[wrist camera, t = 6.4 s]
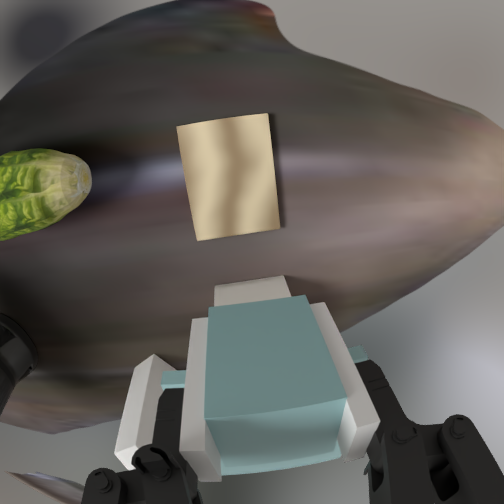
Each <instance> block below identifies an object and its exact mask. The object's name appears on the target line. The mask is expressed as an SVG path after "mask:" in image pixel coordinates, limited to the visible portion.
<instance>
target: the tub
mask: <svg viewBox="0 0 504 504" xmlns="http://www.w3.org/2000/svg"><path fill="white" fill-rule="evenodd" d="M286 297H291V294H290V291H289V289H288V286H287V283H286V281H285V278H284V275H281V276H275V277H269V278H262V279H255V280H249V281H242V282H235V283H228V284H221V285H215V293H214V306H223V305H232V304H240V303H248V302H256V301H264V300H272V299H279V298H286Z"/></svg>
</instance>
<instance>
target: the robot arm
mask: <svg viewBox="0 0 504 504" xmlns="http://www.w3.org/2000/svg"><path fill="white" fill-rule="evenodd" d="M309 305H310V307H311V309H312V312H313V314H314V316H315V319H316V321H317V324H318V326H319V328H320V331H321V333H322V335H323V338H324V340H325V343H326V345H327V348H328V350H329V352H330V355H331V357H332V360H333V362H334V365H335V367H336V370H337V372H338V375H339V377H340V380H341V382H342V385H343V387H344V390H345V392H346V395H347V399H346V403H345V407H344V412H343V416H342V420H341V424H340V428H339V432H338V436H337V441H338V445H339V448H340V451H341V454H342V457H343V461H344V463H345V462H349V461H353V460H356V459H360V458H363V457H364V456H365V454H366V452H367V454H368V456H369V459H370V461H369V463H368V464H367V466H366V468H365V470H364V475H366V474H367V473H368V479H369V497H370V504H434V503H435V504H504V475H503V473H502V471H501V470H500V468H499V466H498V464H497V462H496V461H495V459H494V457H493V455H492V454H491V452H490V450H489V449H488V447H487V445H486V444H485V442H484V441H483V439H482V437H481V435H480V434H479V432H478V430H477V429H476V427H475V426H474V424H473V423H472V421H471V420H470V419H469V418H468V417H466V416H464V415H457V414H456V415H453V416H450V417H449V418H447V419H446V420H445V422H444V423H443V424H434V425H419V424H416V423H414V422H413V421H411V420H409V419H408V418H407V417H406V415H405V414H404V412H403V410H402V408H401V406H400V404H399V402H398V400H397V398H396V396H395V394H394V393H393V391H392V389H391V387H390V386H389V383H388V381H387V379H385V376H384V374H383V372H382V370H381V368H380V367H379V366H378V365H377V364H375V363H374V362H373V361H372V360H367V361H362V362H358V363H354V362H353V360H352V358H351V355H350V353H349V351H348V349H347V347H346V345H345V343H344V341H343V339H342V337H341V335H340V333H339V331H338V329H337V326H336V324H335V322H334V320H333V318H332V316H331V314H330V312H329V310H328V308H327V306H326V304H325V302H321V303H315V304H309ZM207 329H208V317H207V318H197V319H192V325H191V334H190V342H189V350H188V359H187V368H186V378H185V388H165V390H164V391H163V393H162V394H161V396H160V397H159V400H158V406H157V412H156V421H155V425H154V432H153V439H152V444H147V445H144V446H142V447H140V448H139V449H138V450H136V451H135V453H134V455H133V456H132V461H131V464H132V465H133V466H134V467H135V468H136V469H133V470H128V471H123V472H119V473H115V472H114V471H113V470H110V469H108V468H99V469H96V470H94V471H92V472H91V473H90V474H89V476H88V478H87V480H86V484H85V488H84V493H83V497H82V502H81V504H203V501H202V497H201V494H200V492H199V490H198V488H197V479H199V480H200V482H213V481H214V482H217V481H221V456H220V453H219V451H218V449H217V447H216V444H215V442H214V440H213V437H212V435H211V433H210V430H209V428H208V425H207V423H206V420H204V398H205V370H206V348H207ZM37 362H38V354H37V351H36V348H35V346H34V344H33V342H32V341H31V339H30V338H29V336H28V335H27V334H26V333H25V331H24V330H23V329H22V328H21V327H20V326H19V325H18V324H17V323H15V322H14V321H13V320H11V319H10V318H8V317H7V316H5V315H2V314H0V416H1V414H2V412H3V409H4V407H5V405H6V403H7V401H8V399H9V397H10V395H11V393H12V391H13V389H14V387H15V386H16V384H17V383H18V382H20V381H21V380H22V379H24V378H25V377H26V376H27V375H29V374H30V373H31V372H32V371H33V370H34V368H35V366H36V364H37Z"/></svg>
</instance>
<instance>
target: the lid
mask: <svg viewBox="0 0 504 504" xmlns="http://www.w3.org/2000/svg"><path fill="white" fill-rule="evenodd" d="M347 349H348V351H349V353H350V355H351V358H352V360H353V362H354V363H358V362H362V361H367V360H368V356H367V354H366V352H365V350H364V348H363V346H362V345H360V346H355V347H351V348H347ZM185 378H186V370H179V371H163V373H162V379H161V387H162V389H163V391H164V390H165V388H185ZM346 399H347V395H346V392H345V390H344V387H343V385H342V382H341V380H340V377H339V375H338V372H337V370H336V367H335V365H334V362H333V360H332V357H331V355H330V352H329V350H328V348H327V345H326V343H325V340H324V338H323V335H322V333H321V331H320V328H319V326H318V324H317V321H316V319H315V316H314V314H313V312H312V309H311V307H310V305H309V302H308V300H307V298H306V295H300V296H293V297H286V298H279V299H272V300H264V301H256V302H248V303H240V304H232V305H223V306H214V307H209V312H208V329H207V348H206V370H205V398H204V420H206V423H207V425H208V428H209V430H210V433H211V435H212V437H213V440H214V442H215V444H216V447H217V449H218V451H219V453H220V456H221V475H234V474H247V473H256V472H266V471H273V470H281V469H287V468H293V467H299V466H304V465H309V464H314V463H319V462H324V461H328V460H333V459H337V458H340V456H341V451H340V448H339V445H338V441H337V436H338V432H339V428H340V424H341V420H342V416H343V412H344V407H345V403H346Z"/></svg>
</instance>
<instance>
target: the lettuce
mask: <svg viewBox="0 0 504 504" xmlns="http://www.w3.org/2000/svg"><path fill="white" fill-rule="evenodd" d="M91 185H92V177H91V171H90V168H89V166H88V165H87V164H86V163H85V162H84V161H83V160H82V159H81V158H79V157H77V156H75V155H72V154H66V153H62V152H59V151H56V150H50V149H40V148H37V149H29V150H24V151H11V152H9V153H6V154H4V155H2V156H0V241H4V240H8V239H11V238H15V237H17V236H19V235H22V234H26V233H30V232H34V231H38V230H41V229H44V228H46V227H48V226H51V225H53V224H54V223H56V222H58V221H59V220H61V219H62V218H63V217H64V216H65V215H66V214H67V213H69V212H70V211H72V210H73V209H75V208H76V207H78V206H79V205H80V204H81V203H82V202H83V200H84V199H85V198H86V197H87V195H88V194H89V192H90V189H91Z"/></svg>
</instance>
